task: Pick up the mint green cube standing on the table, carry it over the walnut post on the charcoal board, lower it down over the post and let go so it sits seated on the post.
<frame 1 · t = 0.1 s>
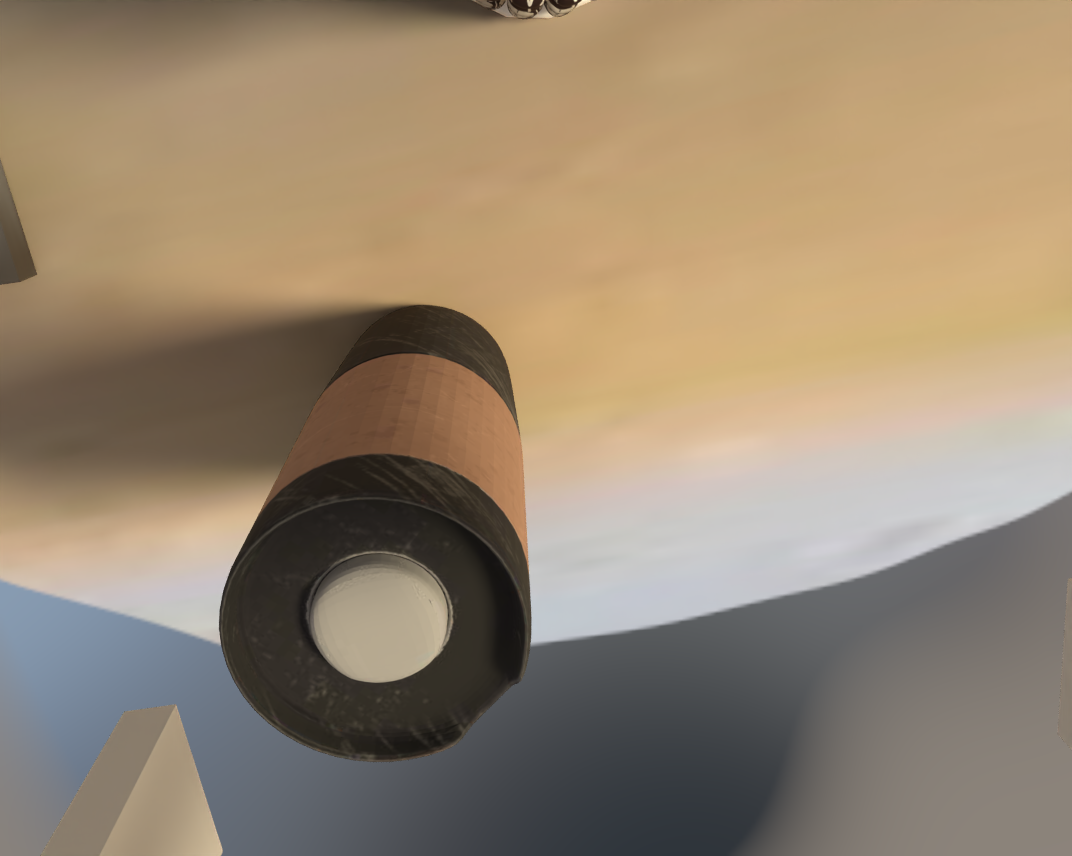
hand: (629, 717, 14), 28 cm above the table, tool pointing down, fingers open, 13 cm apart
travel mug: (428, 383, 42), on the table
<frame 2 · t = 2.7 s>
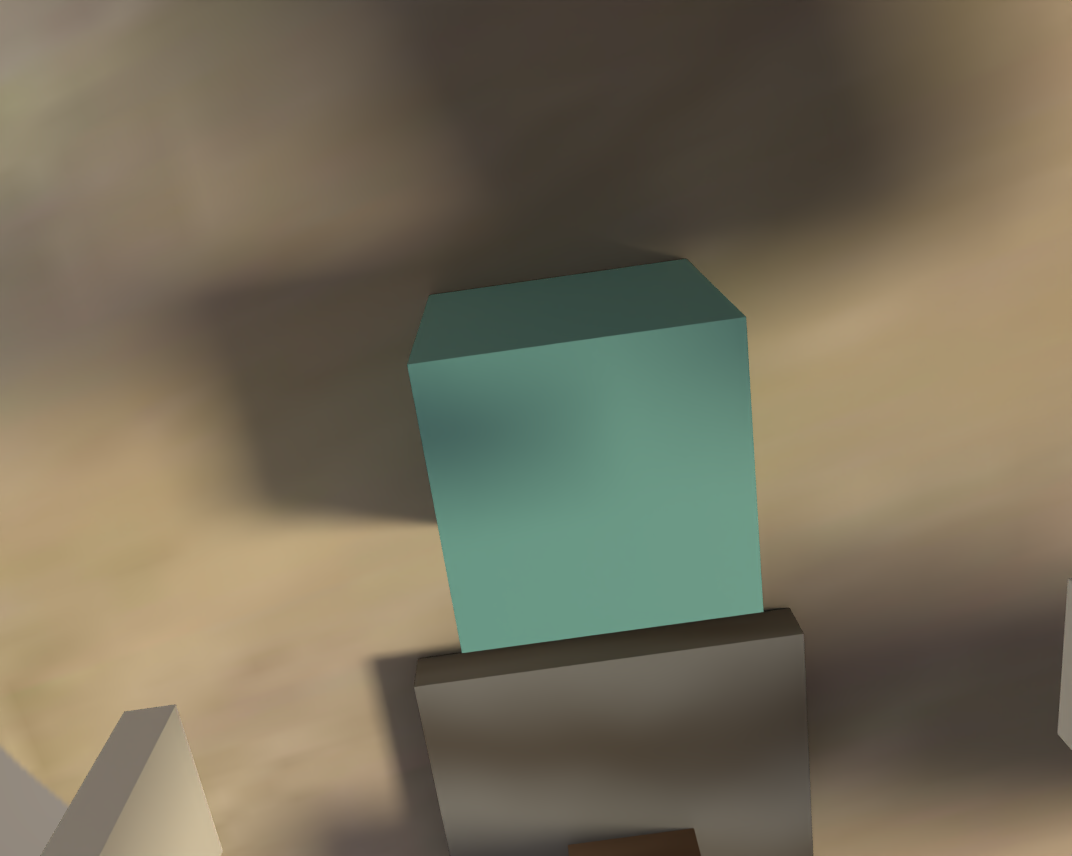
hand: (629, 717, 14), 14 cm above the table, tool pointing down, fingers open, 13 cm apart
mint green cube: (573, 398, 28), on the table
post stand: (631, 851, 34), on the table
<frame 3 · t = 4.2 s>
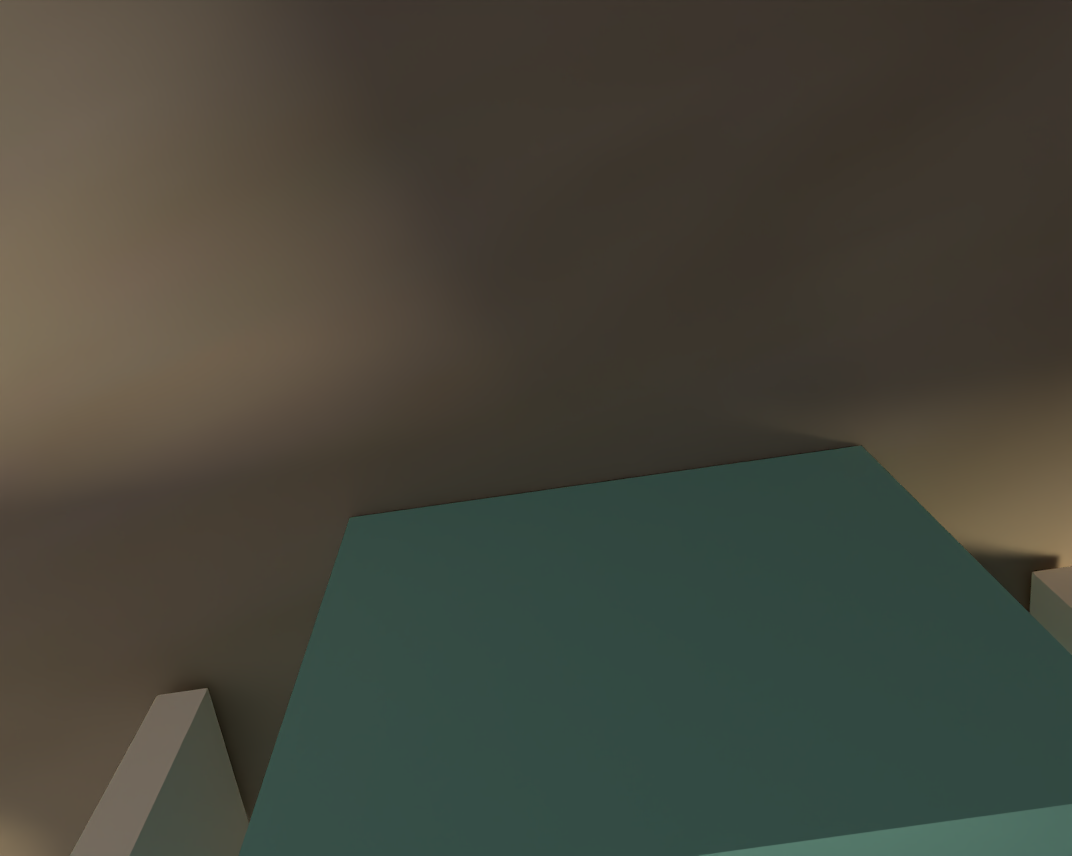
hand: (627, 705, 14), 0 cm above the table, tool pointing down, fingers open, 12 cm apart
mint green cube: (630, 696, 15), on the table
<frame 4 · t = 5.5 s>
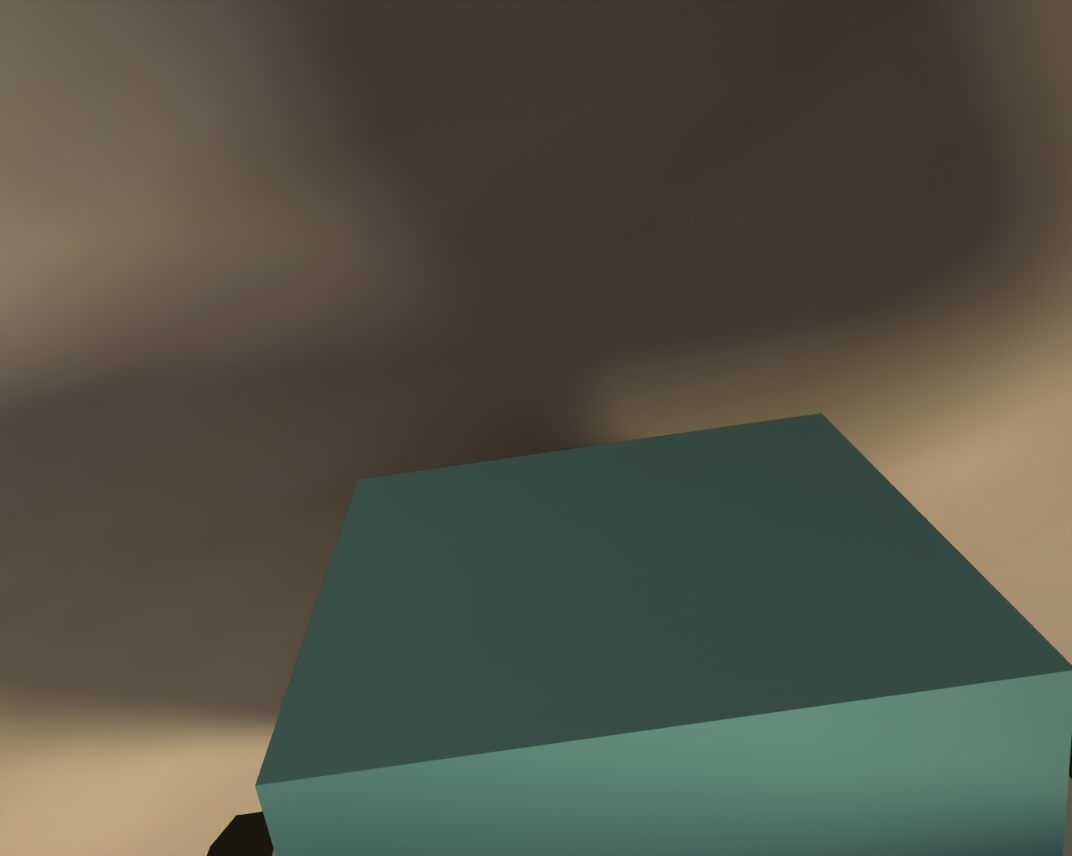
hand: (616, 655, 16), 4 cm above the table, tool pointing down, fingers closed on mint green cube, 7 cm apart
mint green cube: (614, 645, 16), point 3 cm above the table, touching gripper
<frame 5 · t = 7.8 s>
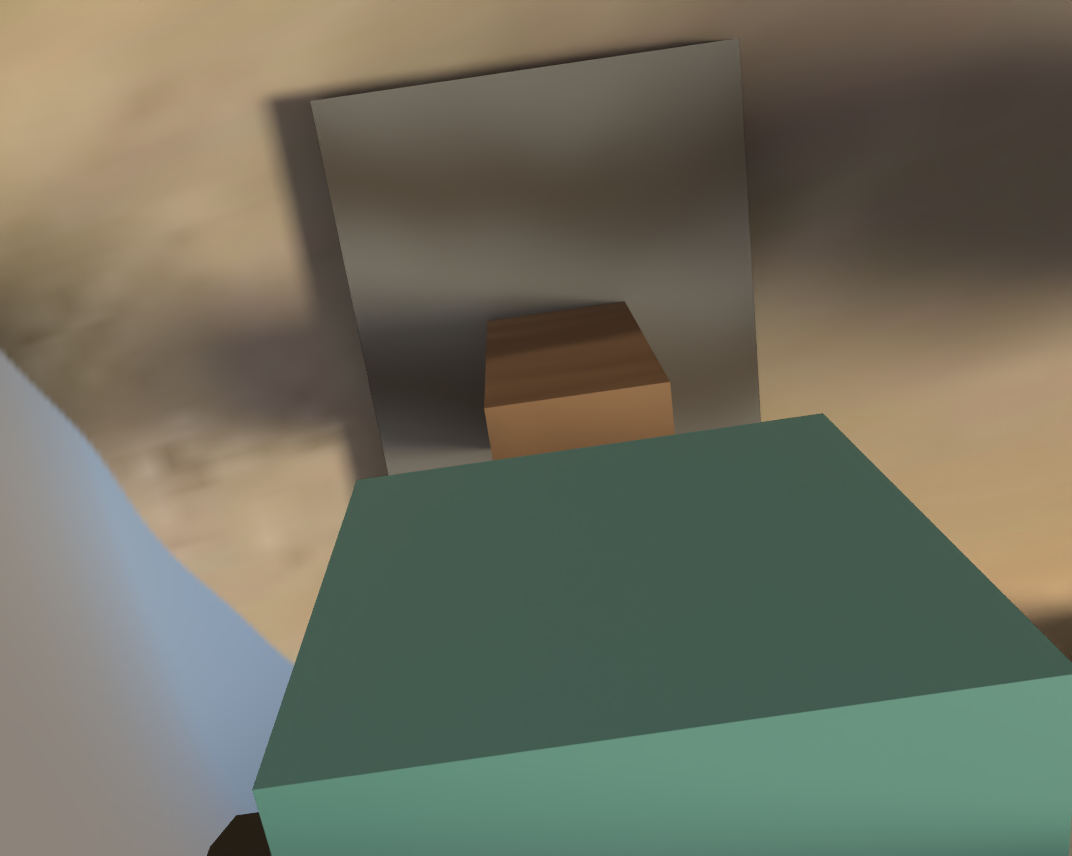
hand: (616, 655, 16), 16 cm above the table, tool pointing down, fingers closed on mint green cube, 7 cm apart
mint green cube: (614, 646, 16), point 16 cm above the table, touching gripper
post stand: (561, 363, 31), on the table
when the fingers open (3 cm above the table, at t = 10.1 s): mint green cube stays where it is, resting on post stand.
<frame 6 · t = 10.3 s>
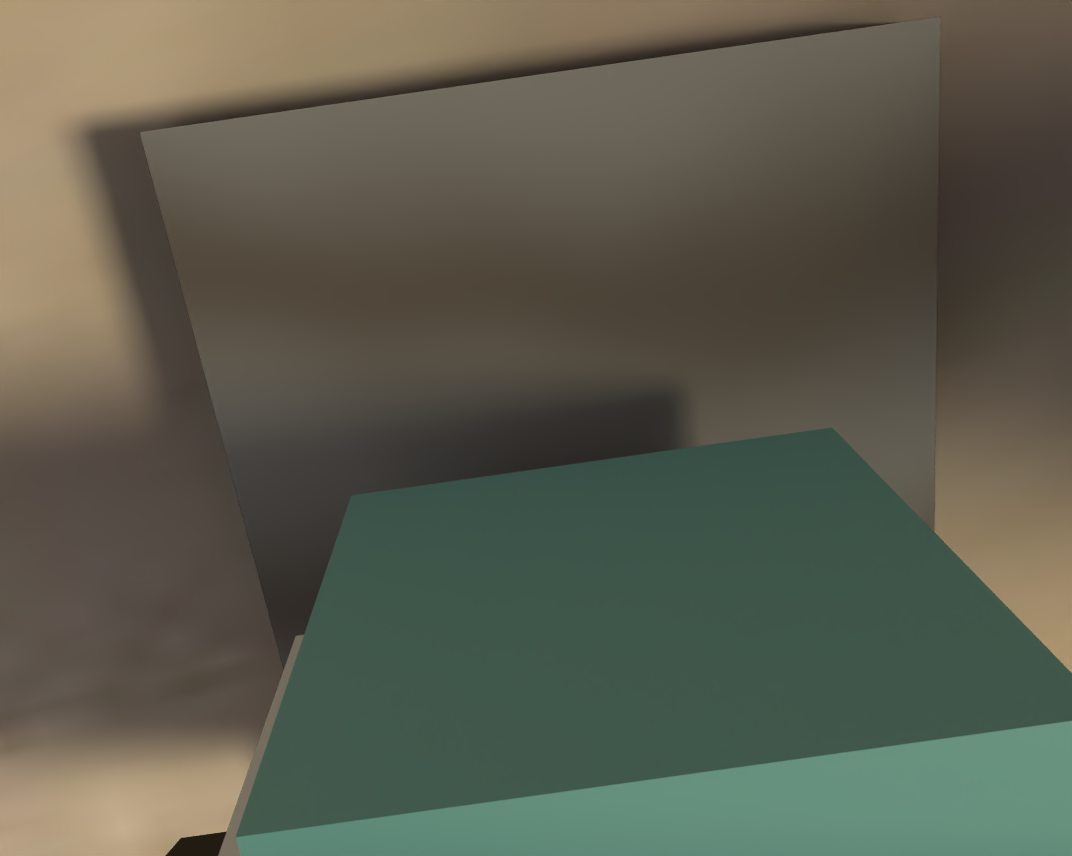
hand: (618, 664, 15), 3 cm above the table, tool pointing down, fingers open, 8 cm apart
mint green cube: (616, 665, 15), point 3 cm above the table, touching post stand
post stand: (596, 560, 19), on the table
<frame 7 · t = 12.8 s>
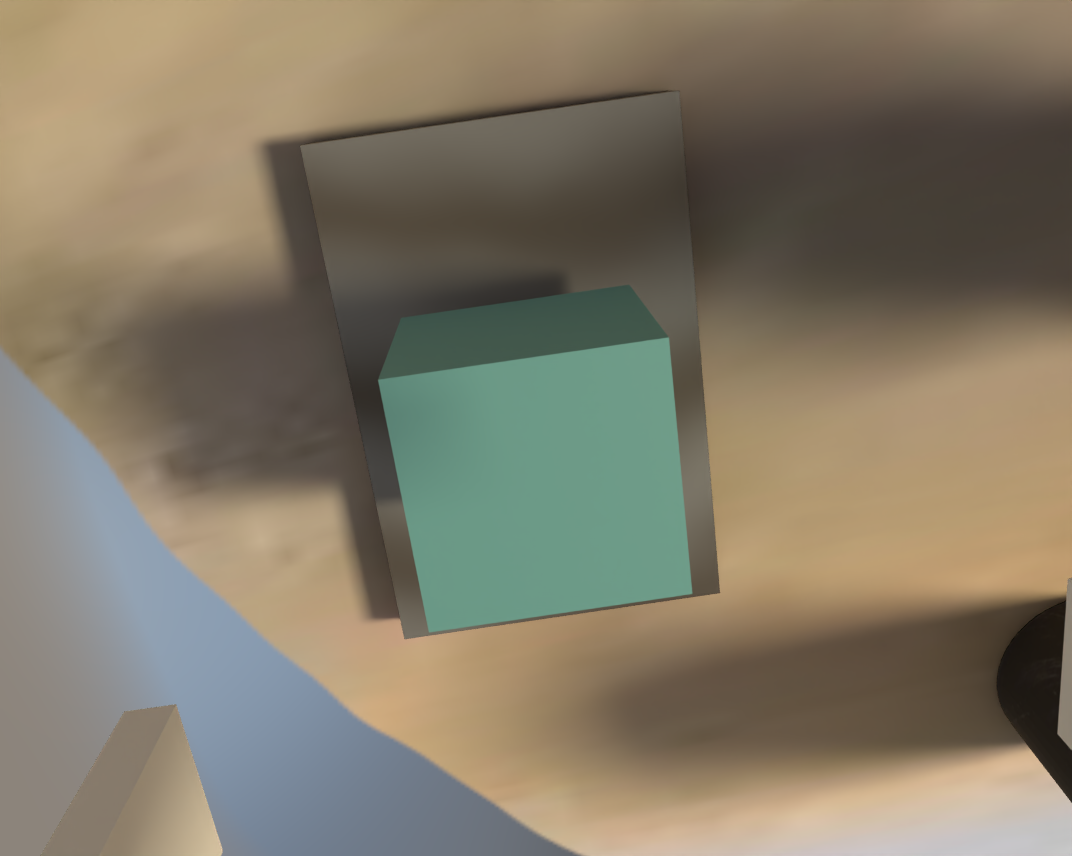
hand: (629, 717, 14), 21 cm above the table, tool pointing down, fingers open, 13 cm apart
mint green cube: (531, 409, 31), point 3 cm above the table, touching post stand
post stand: (527, 377, 34), on the table
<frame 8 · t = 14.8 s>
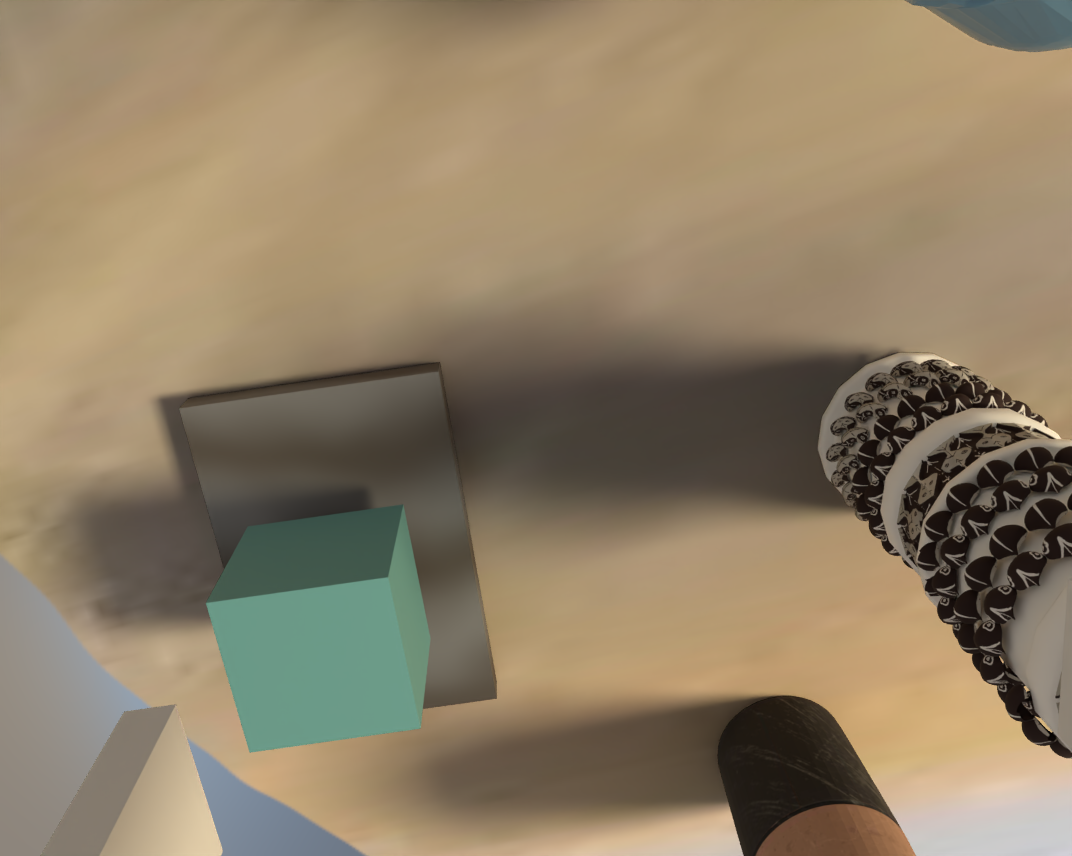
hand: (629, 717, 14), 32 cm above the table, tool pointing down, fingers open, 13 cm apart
decorative candle: (900, 432, 47), on the table
travel mug: (778, 746, 54), on the table
mint green cube: (341, 584, 45), point 3 cm above the table, touching post stand
post stand: (352, 548, 48), on the table
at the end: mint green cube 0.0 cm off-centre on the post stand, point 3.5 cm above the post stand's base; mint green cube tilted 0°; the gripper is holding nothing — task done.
